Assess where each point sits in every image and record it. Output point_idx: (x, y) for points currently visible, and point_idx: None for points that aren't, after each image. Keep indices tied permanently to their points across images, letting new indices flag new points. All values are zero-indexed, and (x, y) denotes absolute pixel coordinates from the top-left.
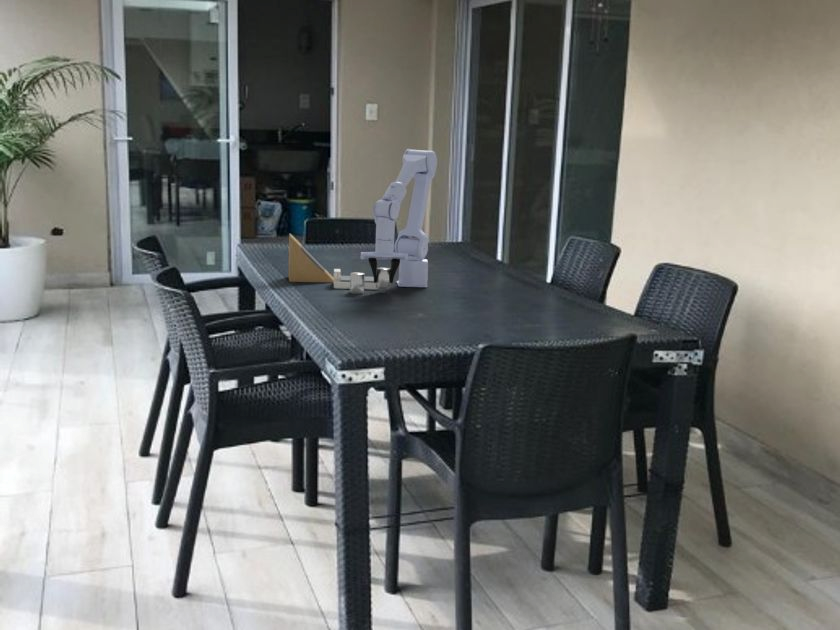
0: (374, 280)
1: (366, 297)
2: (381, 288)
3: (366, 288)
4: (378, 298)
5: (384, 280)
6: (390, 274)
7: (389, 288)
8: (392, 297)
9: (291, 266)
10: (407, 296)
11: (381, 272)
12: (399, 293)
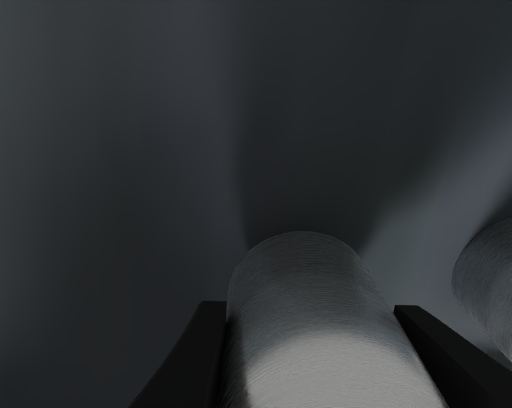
0: (436, 319)
1: (503, 53)
2: (329, 236)
3: None
4: (387, 8)
5: (318, 285)
6: (224, 399)
7: (237, 266)
8: (224, 80)
9: None
10: (64, 146)
11: (411, 387)
12: (142, 269)
